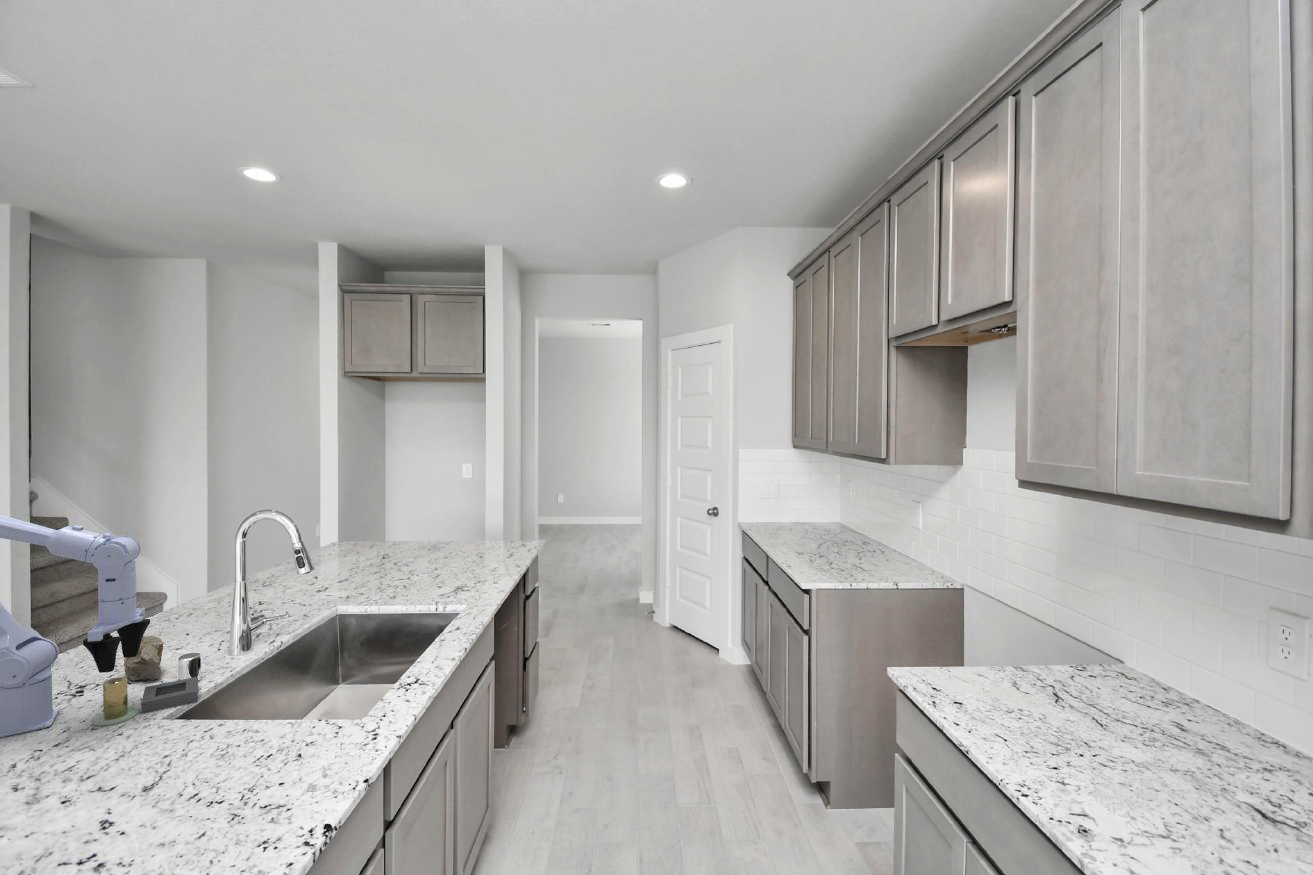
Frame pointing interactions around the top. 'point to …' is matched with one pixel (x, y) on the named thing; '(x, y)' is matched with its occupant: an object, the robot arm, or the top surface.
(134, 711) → the mat
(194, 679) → the housing
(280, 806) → the top surface
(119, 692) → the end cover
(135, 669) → the rock
